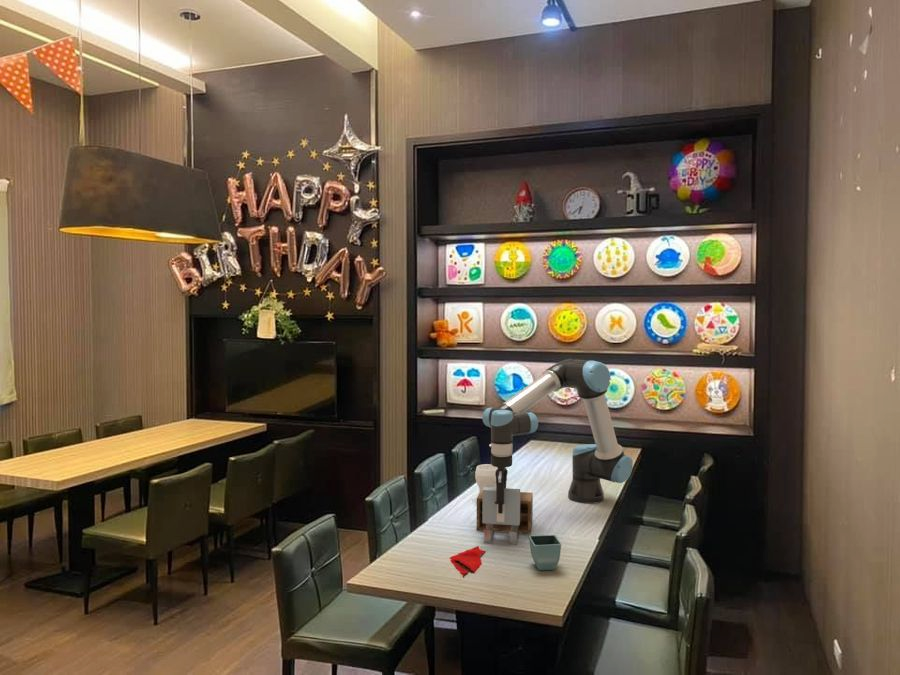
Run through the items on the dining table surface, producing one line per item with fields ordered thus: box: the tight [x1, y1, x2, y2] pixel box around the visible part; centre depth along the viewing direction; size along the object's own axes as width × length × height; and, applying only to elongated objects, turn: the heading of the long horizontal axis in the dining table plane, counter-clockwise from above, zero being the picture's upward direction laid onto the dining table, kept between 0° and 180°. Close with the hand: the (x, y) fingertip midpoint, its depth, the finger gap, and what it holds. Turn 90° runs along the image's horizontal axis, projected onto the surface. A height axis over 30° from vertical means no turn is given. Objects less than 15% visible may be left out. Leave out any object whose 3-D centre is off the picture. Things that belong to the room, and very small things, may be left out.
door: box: [482, 487, 521, 526], centre depth 233 cm, size 13×4×12 cm, turn 80°
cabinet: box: [476, 490, 534, 534], centre depth 247 cm, size 20×11×12 cm, turn 80°
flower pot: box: [528, 534, 562, 571], centre depth 210 cm, size 9×9×9 cm
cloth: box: [449, 545, 486, 578], centre depth 215 cm, size 26×14×2 cm, turn 155°
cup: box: [474, 463, 498, 492], centre depth 277 cm, size 11×11×15 cm
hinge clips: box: [483, 524, 520, 546], centre depth 236 cm, size 11×12×4 cm
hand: (501, 519), depth 233 cm, fingers closed on door, 3 cm apart
